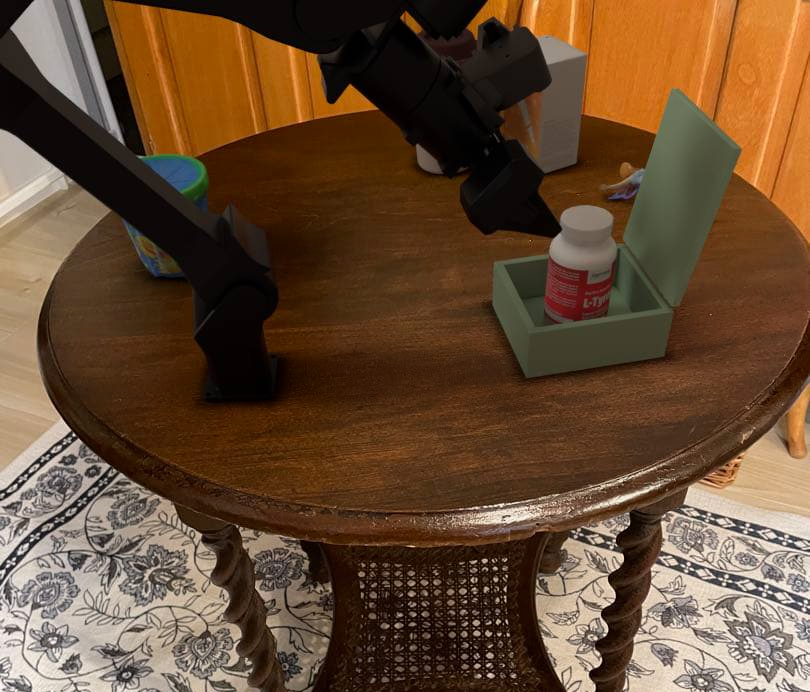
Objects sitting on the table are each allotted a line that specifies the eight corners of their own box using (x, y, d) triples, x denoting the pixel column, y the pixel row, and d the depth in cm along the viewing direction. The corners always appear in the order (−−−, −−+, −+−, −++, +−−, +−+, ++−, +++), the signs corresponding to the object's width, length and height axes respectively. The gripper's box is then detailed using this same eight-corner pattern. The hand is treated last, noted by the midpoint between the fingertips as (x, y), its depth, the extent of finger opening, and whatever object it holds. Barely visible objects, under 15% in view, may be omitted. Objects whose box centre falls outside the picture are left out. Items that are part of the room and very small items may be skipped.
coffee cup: (404, 149, 114) (399, 23, 103) (479, 143, 115) (481, 17, 103) (410, 183, 108) (404, 53, 97) (489, 177, 108) (492, 47, 97)
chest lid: (733, 148, 68) (742, 148, 68) (671, 87, 76) (679, 88, 76) (671, 307, 78) (679, 307, 78) (622, 238, 86) (629, 238, 86)
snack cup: (236, 289, 93) (217, 199, 86) (139, 309, 92) (110, 219, 84) (214, 222, 103) (195, 136, 96) (126, 239, 102) (99, 153, 94)
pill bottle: (583, 349, 82) (597, 241, 74) (530, 327, 85) (538, 221, 77) (618, 319, 85) (635, 213, 77) (565, 298, 88) (576, 194, 80)
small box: (501, 153, 112) (505, 44, 103) (541, 141, 114) (549, 32, 104) (536, 177, 107) (543, 64, 98) (578, 164, 109) (589, 52, 100)
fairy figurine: (662, 214, 93) (588, 162, 99) (651, 252, 97) (581, 200, 103) (736, 182, 97) (661, 135, 103) (723, 220, 101) (651, 172, 107)
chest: (526, 378, 81) (529, 333, 77) (492, 305, 89) (493, 261, 85) (664, 357, 82) (674, 311, 78) (618, 286, 90) (625, 242, 87)
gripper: (525, 39, 56) (656, 184, 65) (459, -41, 68) (578, 90, 78) (410, 173, 61) (547, 289, 70) (369, 76, 73) (490, 186, 83)
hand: (541, 207), depth 75 cm, fingers open, 9 cm apart
